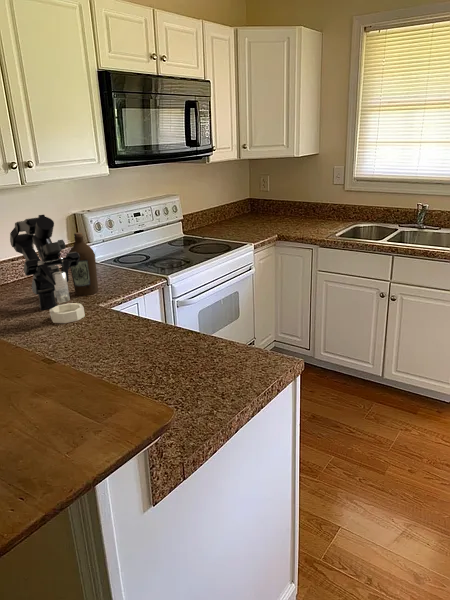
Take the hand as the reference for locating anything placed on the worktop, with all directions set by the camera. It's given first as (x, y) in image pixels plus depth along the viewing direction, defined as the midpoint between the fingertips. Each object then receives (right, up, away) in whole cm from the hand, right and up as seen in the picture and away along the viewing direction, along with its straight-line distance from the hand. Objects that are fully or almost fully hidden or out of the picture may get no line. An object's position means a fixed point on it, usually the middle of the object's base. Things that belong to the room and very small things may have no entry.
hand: (61, 282), depth 165 cm
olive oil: (-1, -3, +35) cm, 35 cm away
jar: (-15, -4, +33) cm, 36 cm away
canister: (0, -6, +3) cm, 7 cm away
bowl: (0, -12, +6) cm, 13 cm away
